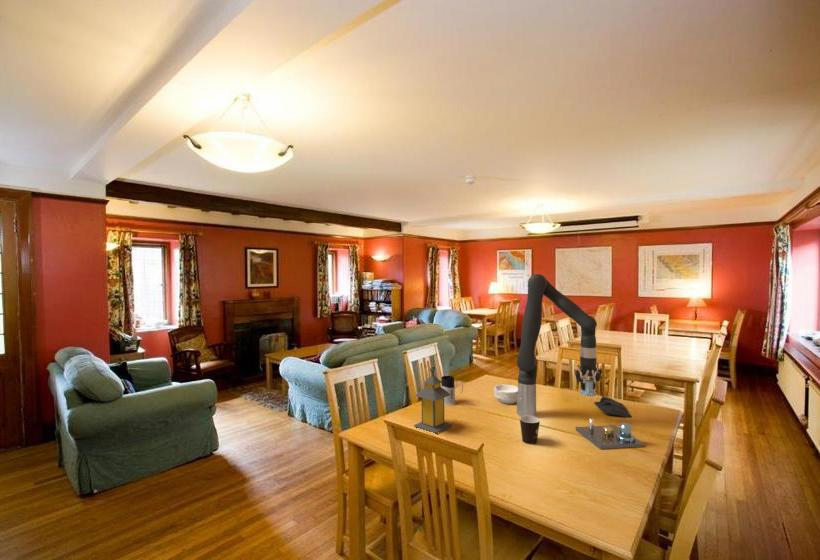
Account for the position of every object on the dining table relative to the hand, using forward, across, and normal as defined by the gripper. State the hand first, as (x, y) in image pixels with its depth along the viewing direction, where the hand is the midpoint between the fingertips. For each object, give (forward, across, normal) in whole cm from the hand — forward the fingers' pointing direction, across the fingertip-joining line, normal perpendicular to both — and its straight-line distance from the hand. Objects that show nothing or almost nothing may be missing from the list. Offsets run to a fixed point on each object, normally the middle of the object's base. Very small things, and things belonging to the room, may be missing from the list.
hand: (588, 389), depth 193 cm
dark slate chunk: (+17, +23, +15) cm, 32 cm away
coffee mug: (+17, -36, -16) cm, 43 cm away
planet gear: (+2, 0, 0) cm, 2 cm away
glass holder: (+18, -62, +36) cm, 74 cm away
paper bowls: (+17, -29, +36) cm, 49 cm away
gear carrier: (+17, -1, -18) cm, 25 cm away
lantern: (+18, -78, +5) cm, 80 cm away
